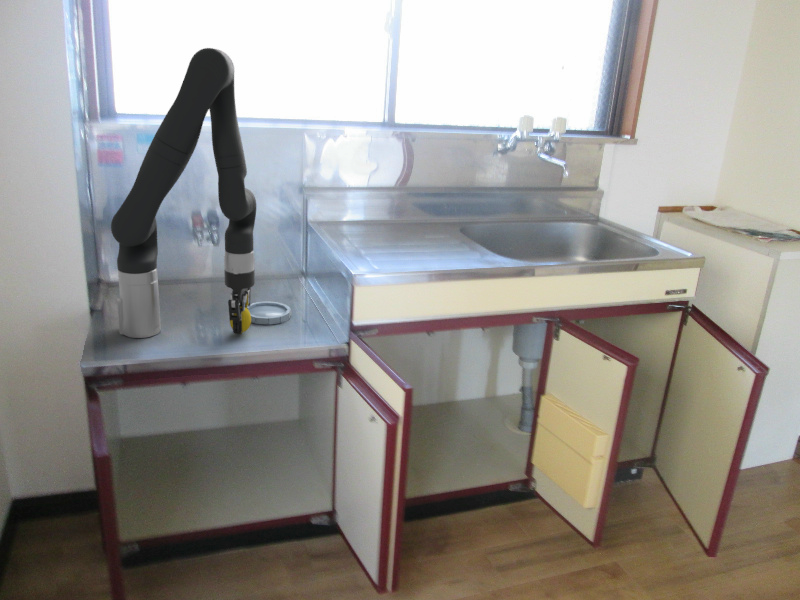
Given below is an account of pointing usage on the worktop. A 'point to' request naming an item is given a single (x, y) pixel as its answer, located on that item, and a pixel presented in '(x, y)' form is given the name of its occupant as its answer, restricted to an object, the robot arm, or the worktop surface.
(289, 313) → the dish
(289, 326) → the worktop surface
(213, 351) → the worktop surface
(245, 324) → the lemon
